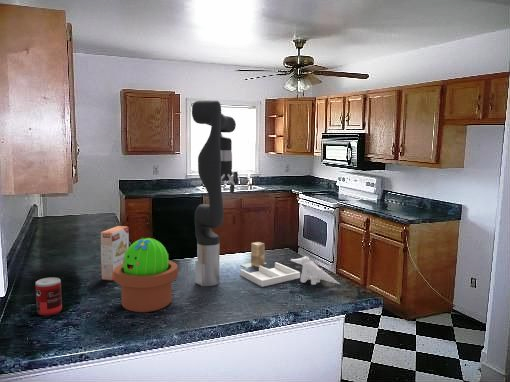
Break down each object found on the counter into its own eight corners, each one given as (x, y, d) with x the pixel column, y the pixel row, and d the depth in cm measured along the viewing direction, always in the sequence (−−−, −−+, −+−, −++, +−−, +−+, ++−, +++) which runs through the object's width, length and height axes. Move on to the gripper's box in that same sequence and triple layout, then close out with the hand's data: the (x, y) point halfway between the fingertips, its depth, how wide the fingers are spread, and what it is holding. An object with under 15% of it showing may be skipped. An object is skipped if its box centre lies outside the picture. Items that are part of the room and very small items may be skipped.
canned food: (42, 307, 147) (40, 277, 146) (65, 306, 148) (64, 277, 147) (32, 316, 140) (31, 285, 138) (57, 315, 140) (55, 284, 139)
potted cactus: (147, 288, 167) (145, 227, 164) (189, 299, 156) (188, 234, 153) (102, 306, 148) (99, 238, 145) (147, 321, 137) (145, 247, 134)
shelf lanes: (262, 289, 167) (262, 280, 167) (239, 277, 181) (240, 269, 181) (299, 280, 178) (300, 272, 178) (276, 269, 192) (276, 262, 192)
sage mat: (254, 272, 188) (254, 271, 188) (240, 265, 198) (240, 264, 198) (275, 268, 195) (275, 267, 195) (261, 261, 204) (261, 260, 204)
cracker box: (114, 281, 174) (112, 232, 172) (101, 280, 176) (99, 232, 173) (130, 270, 188) (129, 225, 185) (118, 269, 189) (116, 225, 187)
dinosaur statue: (292, 274, 183) (295, 250, 181) (342, 291, 169) (346, 266, 167) (284, 278, 177) (287, 254, 175) (335, 297, 164) (339, 270, 162)
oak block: (256, 268, 193) (256, 245, 191) (251, 265, 196) (251, 243, 195) (264, 266, 195) (264, 243, 194) (258, 264, 199) (259, 241, 198)
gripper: (214, 160, 190) (214, 195, 192) (241, 159, 197) (240, 193, 199) (207, 159, 196) (207, 193, 198) (232, 159, 204) (232, 191, 206)
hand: (224, 193), depth 199 cm, fingers open, 8 cm apart
